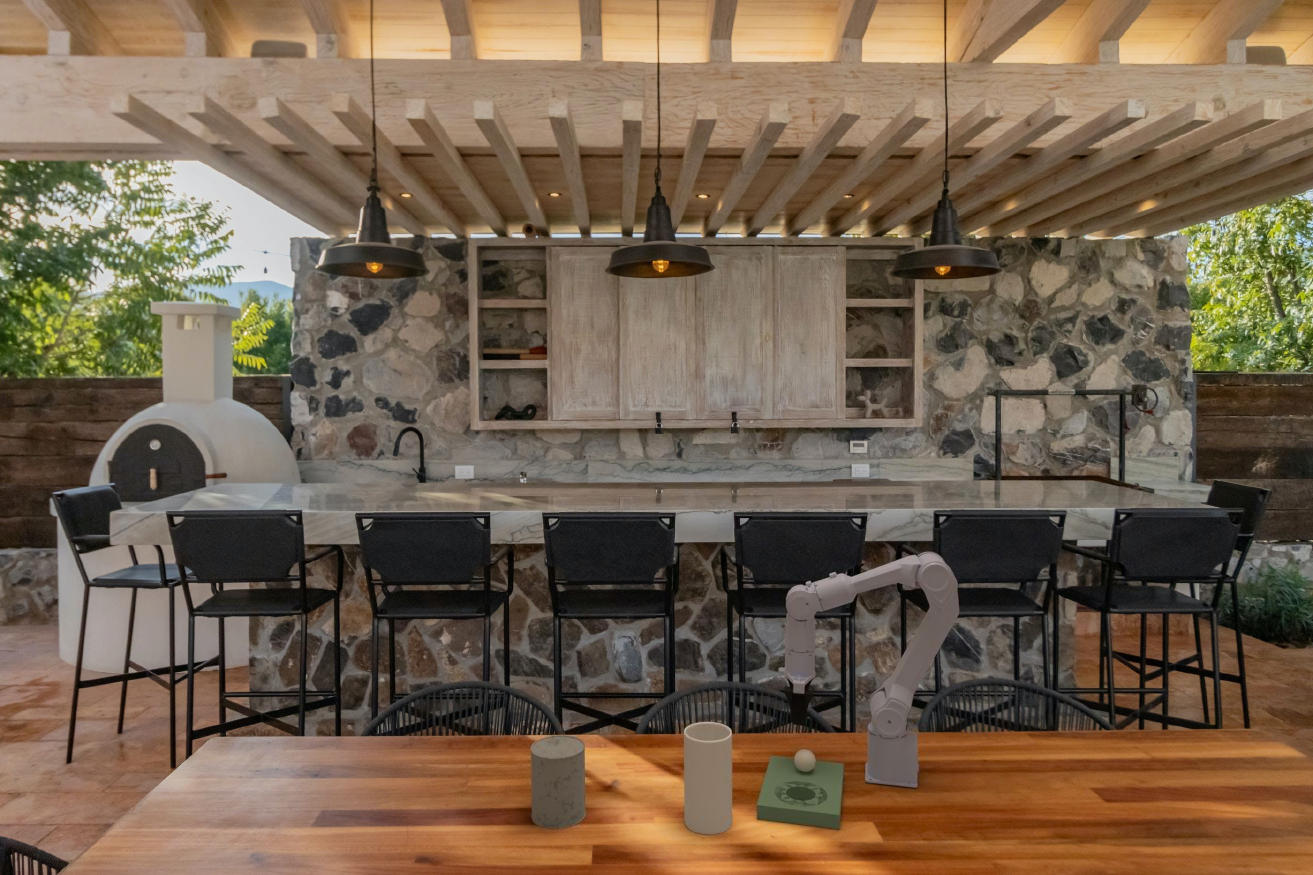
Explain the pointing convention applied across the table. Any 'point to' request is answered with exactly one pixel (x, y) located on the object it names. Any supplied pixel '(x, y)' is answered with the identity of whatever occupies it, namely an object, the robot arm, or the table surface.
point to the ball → (805, 760)
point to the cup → (708, 777)
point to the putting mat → (802, 793)
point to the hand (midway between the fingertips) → (798, 716)
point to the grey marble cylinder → (558, 781)
